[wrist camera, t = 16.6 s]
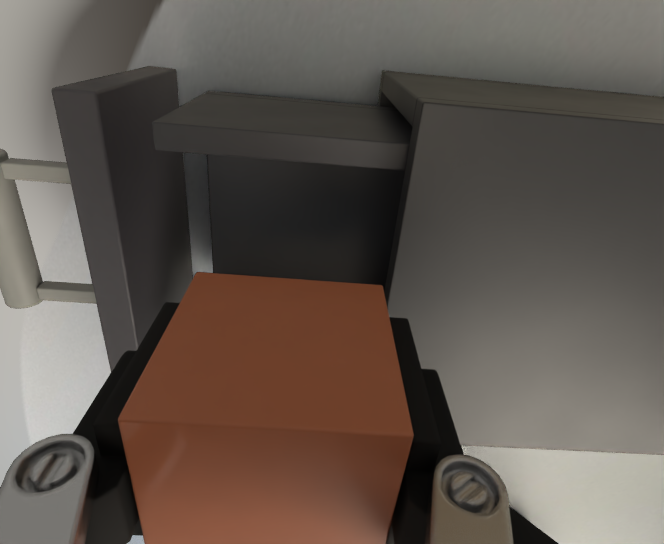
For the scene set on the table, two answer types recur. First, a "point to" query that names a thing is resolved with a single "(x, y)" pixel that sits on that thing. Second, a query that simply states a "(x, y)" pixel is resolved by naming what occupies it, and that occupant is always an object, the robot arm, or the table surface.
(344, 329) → the block
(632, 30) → the table surface
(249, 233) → the sliding drawer
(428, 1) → the table surface
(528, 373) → the dark grey drawer box
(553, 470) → the table surface
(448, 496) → the robot arm
